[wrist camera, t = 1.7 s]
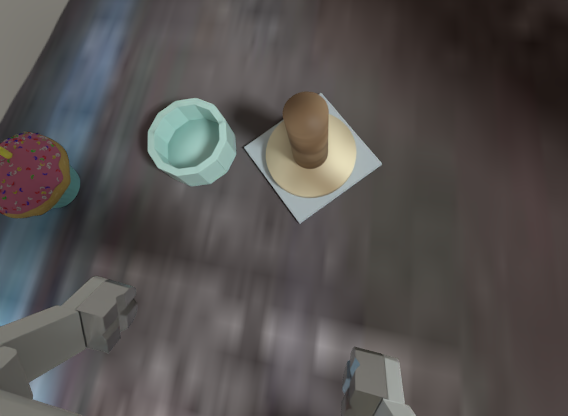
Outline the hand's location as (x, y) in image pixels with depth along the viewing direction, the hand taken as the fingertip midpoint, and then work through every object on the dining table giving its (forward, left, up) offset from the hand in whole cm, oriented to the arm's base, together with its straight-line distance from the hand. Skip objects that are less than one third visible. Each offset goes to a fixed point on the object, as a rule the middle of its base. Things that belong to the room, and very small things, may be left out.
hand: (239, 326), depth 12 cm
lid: (-10, -11, -20) cm, 24 cm away
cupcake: (+14, -25, -20) cm, 35 cm away
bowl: (-1, -19, -20) cm, 27 cm away
